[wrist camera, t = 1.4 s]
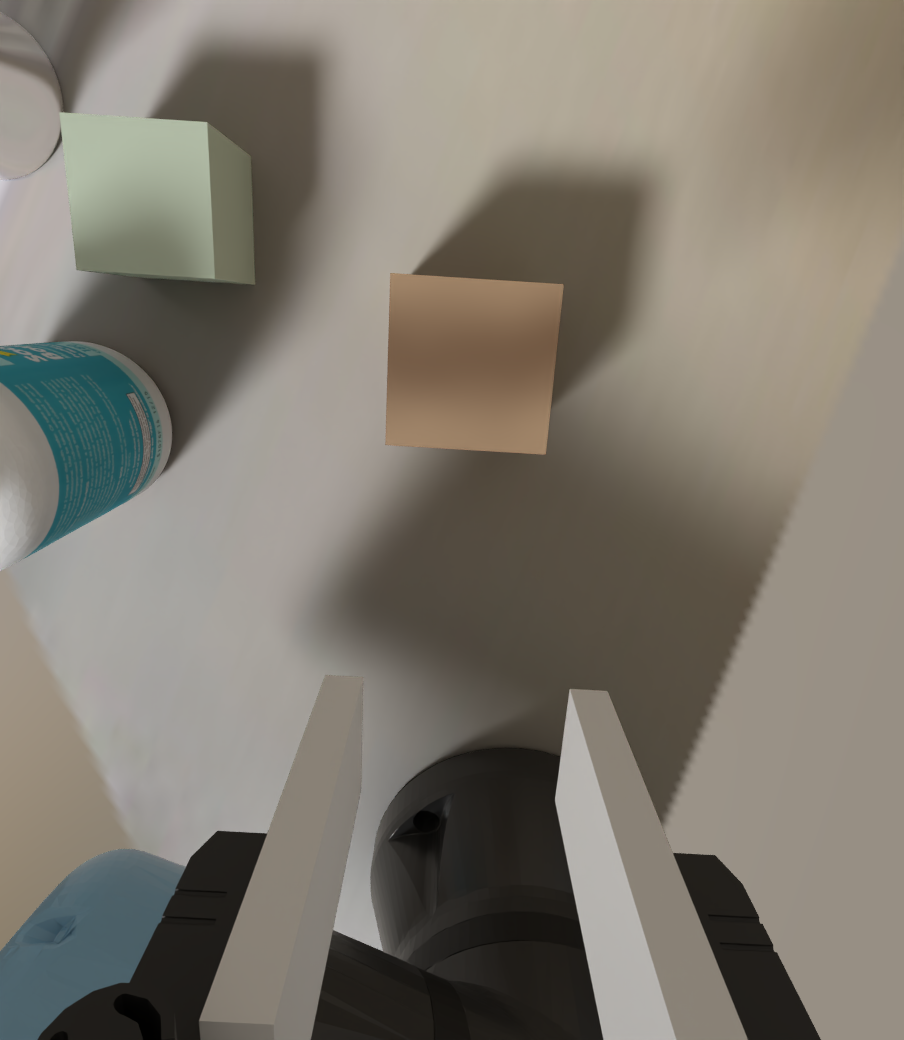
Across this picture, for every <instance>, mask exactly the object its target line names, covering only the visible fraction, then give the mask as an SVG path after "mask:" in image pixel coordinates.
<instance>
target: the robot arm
mask: <svg viewBox="0 0 904 1040" xmlns="http://www.w3.org/2000/svg"><path fill="white" fill-rule="evenodd" d="M362 720H363V677H351V676H333V675H325V677H324V680H323V683H322V685H321V688H320V691H319V694H318V696H317V699H316V702H315V705H314V707H313V710H312V713H311V716H310V718H309V721H308V724H307V727H306V729H305V732H304V735H303V737H302V740H301V743H300V746H299V748H298V751H297V754H296V757H295V759H294V762H293V765H292V768H291V770H290V773H289V776H288V779H287V781H286V784H285V787H284V789H283V792H282V795H281V798H280V800H279V803H278V806H277V809H276V811H275V814H274V817H273V820H272V822H271V825H270V828H269V830H268V833H267V834H265V833H246V832H227V831H217V832H216V833H215V834H214V835H213V836H212V837H211V838H210V839H209V840H208V841H207V842H206V843H205V844H204V845H203V846H202V847H201V848H200V849H199V850H198V851H197V852H196V853H195V854H194V855H193V856H191V858H190V860H189V862H188V864H187V866H186V867H185V866H182V865H179V864H177V863H174V862H171V861H168V860H166V859H163V858H160V857H158V856H155V855H152V854H150V853H147V852H144V851H139V850H135V849H118V850H113V851H109V852H106V853H103V854H100V855H98V856H96V857H94V858H92V859H90V860H88V861H86V862H85V863H83V864H82V865H80V866H79V867H77V868H76V869H75V870H74V871H72V872H71V873H70V874H69V875H68V876H67V877H66V878H65V879H64V880H63V881H62V882H61V883H60V884H59V885H58V886H57V887H56V888H55V890H53V891H52V892H51V894H50V895H49V896H48V897H47V898H46V899H45V900H44V901H43V902H42V903H41V904H40V906H39V907H38V908H37V909H36V910H35V911H34V913H33V914H32V915H31V916H30V917H29V918H28V920H27V921H26V922H25V923H24V924H23V925H22V926H21V928H20V929H19V930H18V931H17V932H16V934H15V935H14V936H13V937H12V938H11V939H10V941H9V942H8V943H7V944H6V945H5V947H4V948H3V949H2V950H1V951H0V1040H821V1039H820V1037H819V1035H818V1033H817V1031H816V1029H815V1027H814V1025H813V1023H812V1021H811V1019H810V1017H809V1015H808V1013H807V1012H806V1009H805V1007H804V1005H803V1003H802V1001H801V1000H800V997H799V995H798V994H797V992H796V990H795V988H794V986H793V984H792V982H791V980H790V978H789V976H788V974H787V972H786V970H785V968H784V966H783V964H782V962H781V960H780V958H779V956H778V954H777V953H776V952H774V950H773V944H772V942H771V940H770V938H769V936H768V934H767V932H766V930H765V928H764V926H763V924H760V922H759V916H758V914H757V912H756V910H755V908H754V906H753V904H752V902H751V900H750V898H749V896H748V894H747V892H746V890H745V888H744V886H743V884H742V883H741V882H740V881H739V880H738V879H737V878H736V877H735V876H734V875H733V874H732V873H731V871H730V870H729V869H728V868H727V867H726V866H725V865H724V864H723V863H722V862H721V861H720V860H719V859H718V858H717V857H716V856H715V855H698V854H681V853H673V852H672V850H671V847H670V845H669V842H668V840H667V838H666V835H665V833H664V830H663V828H662V825H661V823H660V820H659V818H658V815H657V813H656V810H655V808H654V805H653V803H652V800H651V798H650V795H649V793H648V790H647V788H646V785H645V783H644V780H643V778H642V775H641V773H640V770H639V768H638V766H637V763H636V761H635V758H634V756H633V753H632V751H631V748H630V746H629V743H628V741H627V738H626V736H625V733H624V731H623V728H622V726H621V723H620V721H619V718H618V716H617V713H616V711H615V708H614V706H613V703H612V701H611V698H610V696H609V694H608V691H600V690H582V689H570V691H569V698H568V706H567V713H566V721H565V728H564V736H563V743H562V751H561V757H558V756H555V755H552V754H548V753H544V752H539V751H534V750H527V749H517V748H499V749H487V750H480V751H475V752H470V753H466V754H463V755H459V756H456V757H453V758H451V759H448V760H445V761H443V762H441V763H439V764H437V765H435V766H433V767H431V768H429V769H428V770H426V771H424V772H423V773H421V774H420V775H418V776H417V777H416V778H414V779H413V780H412V781H411V782H410V783H408V784H407V785H406V786H405V787H404V788H403V789H402V790H401V791H400V792H399V793H398V795H397V796H396V797H395V798H394V799H393V801H392V802H391V804H390V805H389V807H388V808H387V810H386V812H385V813H384V816H383V818H382V820H381V822H380V825H379V828H378V831H377V835H376V840H375V846H374V853H373V860H372V866H371V877H370V880H371V897H372V903H373V908H374V912H375V917H376V921H377V926H378V930H379V935H380V939H381V944H382V948H383V951H380V950H378V949H376V948H373V947H371V946H369V945H366V944H364V943H362V942H359V941H357V940H355V939H352V938H350V937H348V936H345V935H343V934H341V933H338V932H336V931H334V930H333V927H334V922H335V917H336V912H337V907H338V902H339V897H340V892H341V887H342V882H343V877H344V872H345V867H346V862H347V857H348V852H349V847H350V842H351V837H352V833H353V828H354V823H355V818H356V813H357V808H358V803H359V798H360V793H361V769H362Z"/></svg>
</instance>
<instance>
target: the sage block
mask: <svg viewBox="0 0 904 1040" xmlns="http://www.w3.org/2000/svg"><path fill="white" fill-rule="evenodd" d="M59 115H60V124H61V133H62V142H63V151H64V160H65V169H66V178H67V187H68V196H69V205H70V214H71V223H72V232H73V241H74V250H75V259H76V268H77V270H81V271H89V272H97V273H106V274H114V275H122V276H131V277H139V278H154V279H170V280H186V281H202V282H218V283H234V284H249V285H255V264H254V232H253V201H252V169H251V156H250V155H249V154H247V153H246V152H245V151H244V150H242V149H241V148H240V147H238V146H237V145H236V144H235V143H233V142H232V141H231V140H229V139H228V138H227V137H226V136H224V135H223V134H222V133H220V132H219V131H218V130H217V129H215V128H214V127H213V126H211V125H210V124H209V123H208V122H198V121H183V120H168V119H153V118H137V117H122V116H107V115H92V114H77V113H62V112H59Z"/></svg>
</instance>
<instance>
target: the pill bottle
mask: <svg viewBox="0 0 904 1040" xmlns="http://www.w3.org/2000/svg"><path fill="white" fill-rule="evenodd" d="M171 444H172V425H171V419H170V414H169V411H168V408H167V405H166V403H165V400H164V398H163V396H162V394H161V392H160V391H159V389H158V387H157V386H156V384H155V383H154V382H153V380H152V379H151V378H150V377H149V376H148V375H147V373H146V372H145V371H144V370H143V369H142V368H140V367H139V366H138V365H137V364H136V363H135V362H133V361H132V360H130V359H129V358H127V357H126V356H124V355H123V354H121V353H119V352H117V351H115V350H112V349H110V348H108V347H105V346H102V345H98V344H94V343H89V342H79V341H67V342H49V343H36V344H23V345H9V346H0V571H2V570H3V569H5V568H7V567H9V566H11V565H13V564H15V563H17V562H19V561H21V560H22V559H24V558H26V557H28V556H30V555H31V554H33V553H35V552H37V551H39V550H40V549H42V548H44V547H46V546H48V545H49V544H51V543H53V542H55V541H56V540H58V539H60V538H62V537H63V536H65V535H67V534H69V533H71V532H73V531H74V530H76V529H78V528H80V527H82V526H83V525H85V524H87V523H89V522H91V521H93V520H94V519H96V518H98V517H100V516H102V515H104V514H105V513H107V512H109V511H111V510H112V509H114V508H116V507H118V506H119V505H121V504H123V503H125V502H127V501H128V500H130V499H132V498H133V497H135V496H137V495H138V494H140V493H142V492H143V491H145V490H146V489H147V488H148V487H149V486H151V485H152V484H153V483H154V482H155V480H156V479H157V478H158V477H159V475H160V474H161V472H162V471H163V469H164V467H165V465H166V463H167V460H168V458H169V454H170V450H171Z"/></svg>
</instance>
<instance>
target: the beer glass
mask: <svg viewBox="0 0 904 1040" xmlns="http://www.w3.org/2000/svg"><path fill="white" fill-rule="evenodd" d="M59 112H62V113H63V100H62V94H61V89H60V85H59V82H58V79H57V76H56V73H55V71H54V69H53V66H52V64H51V62H50V61H49V59H48V57H47V55H46V54H45V52H44V51H43V49H42V48H41V46H40V45H39V44H38V43H37V41H36V40H35V39H34V38H33V37H32V36H31V35H30V33H29V32H28V31H26V30H25V29H24V28H23V27H22V26H21V25H20V24H18V23H17V22H16V21H14V20H13V19H11V18H10V17H8V16H7V15H5V14H3V13H1V12H0V180H11V179H17V178H20V177H23V176H26V175H28V174H30V173H32V172H34V171H35V170H37V169H38V168H39V167H41V166H42V165H43V164H44V163H45V162H46V161H47V160H48V158H49V157H50V156H51V154H52V153H53V151H54V149H55V147H56V145H57V143H58V140H59V137H60V134H61V124H60V115H59Z"/></svg>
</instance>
